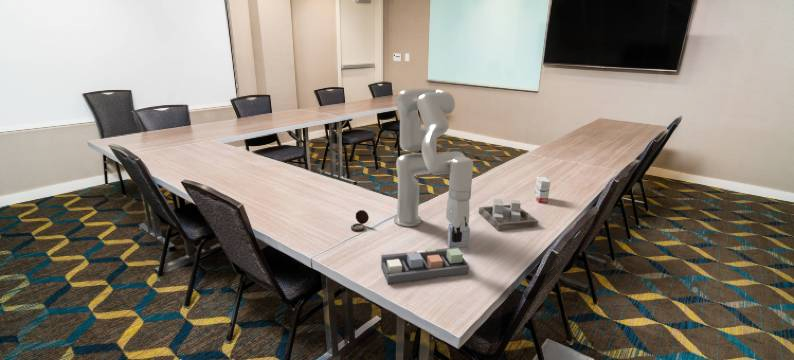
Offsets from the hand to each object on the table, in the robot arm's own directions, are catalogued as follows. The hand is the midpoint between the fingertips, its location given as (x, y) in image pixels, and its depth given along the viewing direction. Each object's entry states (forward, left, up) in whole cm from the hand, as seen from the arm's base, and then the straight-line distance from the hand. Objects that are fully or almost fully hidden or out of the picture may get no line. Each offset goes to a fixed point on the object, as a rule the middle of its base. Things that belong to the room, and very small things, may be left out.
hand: (456, 241), depth 143 cm
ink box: (-53, +70, -11) cm, 88 cm away
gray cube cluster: (-34, +40, -11) cm, 54 cm away
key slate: (0, -15, -8) cm, 17 cm away
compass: (-39, -28, -11) cm, 49 cm away
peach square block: (0, -8, -10) cm, 12 cm away
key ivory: (0, -23, -9) cm, 24 cm away
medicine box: (-16, +8, -11) cm, 21 cm away
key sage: (0, 0, -8) cm, 8 cm away
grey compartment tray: (0, -11, -11) cm, 16 cm away
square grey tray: (-34, +40, -11) cm, 54 cm away
